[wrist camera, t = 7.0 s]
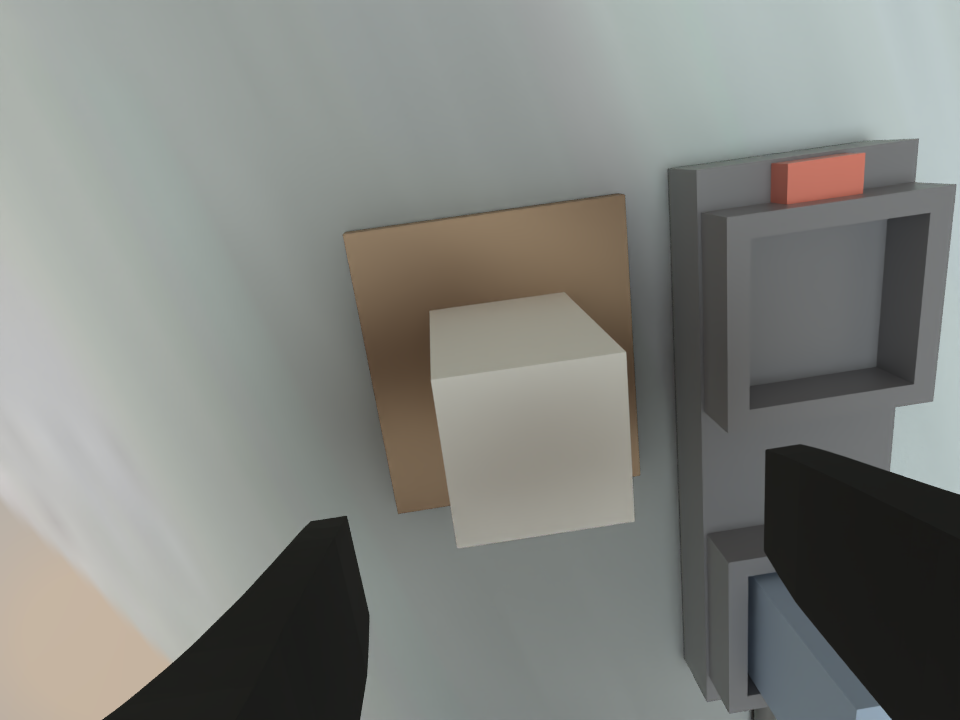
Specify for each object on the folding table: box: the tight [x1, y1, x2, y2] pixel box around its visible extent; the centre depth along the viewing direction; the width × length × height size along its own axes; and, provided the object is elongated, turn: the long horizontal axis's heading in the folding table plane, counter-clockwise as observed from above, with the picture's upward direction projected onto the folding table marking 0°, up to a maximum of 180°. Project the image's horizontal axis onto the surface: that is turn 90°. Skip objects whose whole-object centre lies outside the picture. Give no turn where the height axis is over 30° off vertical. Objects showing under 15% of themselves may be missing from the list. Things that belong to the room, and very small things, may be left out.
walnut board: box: [343, 194, 640, 514], centre depth 19 cm, size 9×8×1 cm
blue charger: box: [748, 572, 892, 720], centre depth 18 cm, size 4×4×6 cm
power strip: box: [668, 139, 956, 720], centre depth 20 cm, size 24×6×4 cm, turn 7°
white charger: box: [429, 292, 635, 549], centre depth 16 cm, size 4×4×6 cm
